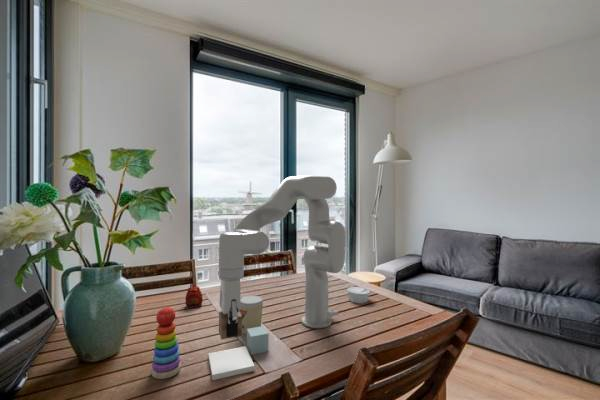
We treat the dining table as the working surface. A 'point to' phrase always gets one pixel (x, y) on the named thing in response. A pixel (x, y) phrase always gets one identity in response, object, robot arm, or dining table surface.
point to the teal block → (257, 340)
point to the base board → (230, 362)
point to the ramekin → (358, 294)
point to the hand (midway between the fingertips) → (230, 330)
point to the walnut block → (223, 324)
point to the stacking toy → (166, 346)
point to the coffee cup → (251, 312)
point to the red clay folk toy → (193, 296)
